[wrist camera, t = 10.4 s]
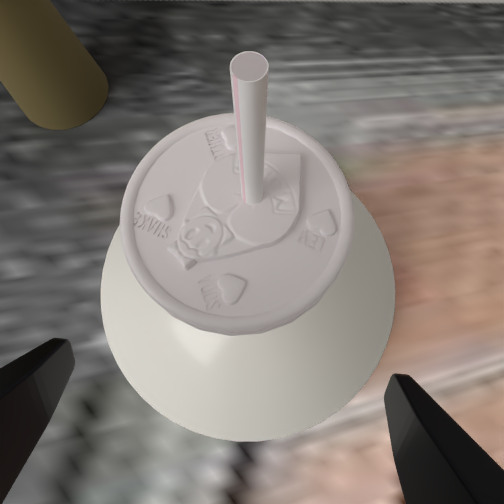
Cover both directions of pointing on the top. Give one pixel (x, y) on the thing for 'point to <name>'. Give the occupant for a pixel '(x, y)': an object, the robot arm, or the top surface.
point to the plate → (255, 349)
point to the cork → (48, 66)
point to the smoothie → (237, 216)
